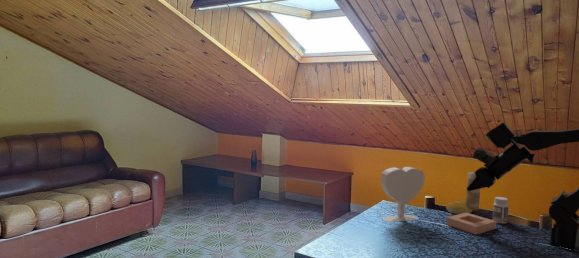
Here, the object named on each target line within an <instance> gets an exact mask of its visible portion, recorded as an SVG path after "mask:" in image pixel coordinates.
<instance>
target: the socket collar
mask: <svg viewBox="0 0 579 258" xmlns="http://www.w3.org/2000/svg"><path fill="white" fill-rule="evenodd" d="M446 225H447V226H450V227H452V228H456V229H459V230H462V231H465V232H468V233H471V234H474V235H480V234H483V233H486V232H489V231H492V230H495V229H497V223H496V221H494V220H492V219H489V218H486V217H483V216H479V215H477V214H476V215H475V214H474V213H473V214H472V213H462V214H455V215H452V216H447V217H446Z"/></svg>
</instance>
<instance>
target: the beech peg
mask: <svg viewBox="0 0 579 258" xmlns="http://www.w3.org/2000/svg"><path fill="white" fill-rule="evenodd" d="M474 172H475V171H468V172H467V182H466V183H467V184H466V188H467V187H468V186H469V185H470V184H471V183H472V182H473V180H474V179H475V178H476V174H475V173H474ZM480 197H481V189H476V190H472V191H468V190H467V189H466V198H465V199H466V200H465V202H466V209H469V210H472V211H480Z"/></svg>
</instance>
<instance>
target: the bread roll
mask: <svg viewBox="0 0 579 258" xmlns="http://www.w3.org/2000/svg"><path fill="white" fill-rule="evenodd" d="M445 208H446V210H447V212H448V213H451V214H455V215H458V214H462V213H470V214H472V212H473V210H469V209H466V200H456V201H450V202H448V203H447V204H446V205H445Z"/></svg>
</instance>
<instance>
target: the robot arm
mask: <svg viewBox="0 0 579 258" xmlns="http://www.w3.org/2000/svg"><path fill="white" fill-rule="evenodd" d="M485 137H486V138H487V139H488V140H489V141H490V142H491V144H493V146H495V148H497V149H499V148H500V149H502V150H503V152H501V153H500V154H496V155H495V154H493V153H492V152H489V151H488V150H486V149H483V148H482V147H476V149H475V151H473V155H472V156H471V157H472V158H473V159H475V160H477V161H480V162H482V163H484V164H483V166H481V167H479V168H478V169H476V170H475V171H473V172H474V173H475V174H476V178H475V179H474V180H473V182H472V183H471V184H470V185H469V186H468V187H467V186H466V191H467V190H468V191H472V190H476V189H480V190H481V189H485V188H487V189H489V188H491V187H493V185H495V184H496V180H497V181H498V180H499V179H501V178H502V177H504V175H506V174H507V173H509V172H511V171H513V169H514V168H515V167H517V166H519V165H520V164H521V163H523V162H525V160H527V161H529V162H530V163H532V164H533V163H534V162H535V156H536V153H534V152H533V151H535V152H536V151H540V150H543V149H548V148H551V147H554V146H557V145H563V144H569V143H570V144H571V143H578V142H579V128H573V129H565V130H537V129H535V130H532V131H530V132H527V133H522V134H521V133H518V134H516V133H514V131H512V129H510V127H509V126H508V125H507V124H506V123H505V122H503V121H502V122H501V123H500V124H498V125H497V126H495V127H493V128H492V129H491V130H489V131H488V132H487V133H486V134H485ZM511 144H512V145H511ZM509 145H511V146H509ZM521 145H523V146H521ZM508 146H509V147H508ZM506 147H508V148H507V149H505V148H506ZM504 149H505V150H504ZM530 151H531V152H530ZM578 211H579V187H577V188H576V189H575V190H573V191H571V192H568V193H567V192H565V190H562V191H561V192H560V193H559V195H557V196H554V197H552V199H551V202H550V206H549V208H548V215H549V217H550V218H551V219H552V220H554V223H553V226H552V227H551V229H550V241H549V242H548V244H549V243H551V244H554V245H557V246H561V247H564V248H568V249H571V250H574V249H577V248H579V215H578V214H577V212H578ZM554 245H553V246H554ZM557 246H556V247H557ZM564 248H563V249H564ZM577 250H578V249H577Z"/></svg>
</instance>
